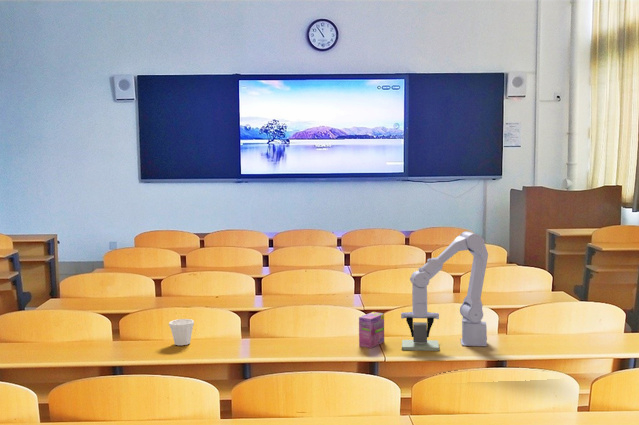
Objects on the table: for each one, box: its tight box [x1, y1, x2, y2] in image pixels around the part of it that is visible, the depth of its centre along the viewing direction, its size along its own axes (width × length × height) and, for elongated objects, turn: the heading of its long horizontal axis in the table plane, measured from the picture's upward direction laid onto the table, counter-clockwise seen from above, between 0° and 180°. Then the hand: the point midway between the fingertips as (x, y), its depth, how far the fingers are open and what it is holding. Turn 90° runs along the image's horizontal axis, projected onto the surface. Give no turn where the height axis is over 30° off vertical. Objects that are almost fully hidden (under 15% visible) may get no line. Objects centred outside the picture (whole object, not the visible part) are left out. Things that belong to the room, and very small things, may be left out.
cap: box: [412, 321, 428, 343], centre depth 244 cm, size 5×5×7 cm
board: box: [401, 339, 440, 352], centre depth 245 cm, size 14×10×1 cm
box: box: [358, 311, 385, 349], centre depth 249 cm, size 10×6×12 cm, turn 143°
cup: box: [168, 318, 195, 347], centre depth 255 cm, size 10×10×9 cm
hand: (420, 336), depth 244 cm, fingers closed on cap, 5 cm apart
